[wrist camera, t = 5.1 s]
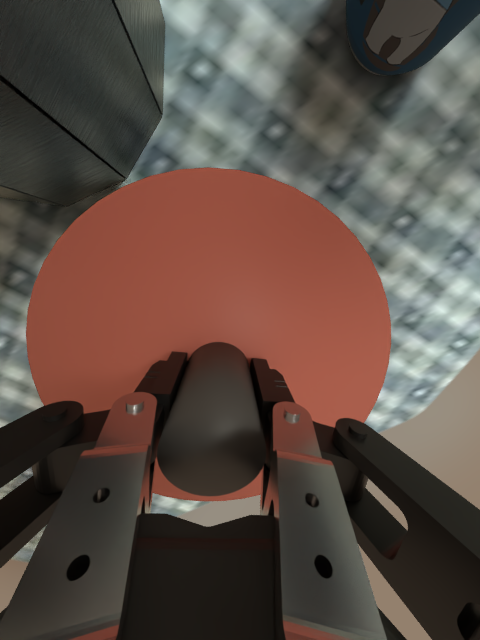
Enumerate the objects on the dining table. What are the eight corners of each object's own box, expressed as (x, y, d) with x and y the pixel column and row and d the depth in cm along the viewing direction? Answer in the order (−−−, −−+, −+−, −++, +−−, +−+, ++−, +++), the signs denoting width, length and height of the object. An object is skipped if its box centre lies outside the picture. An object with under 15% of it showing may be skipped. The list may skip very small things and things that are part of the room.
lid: (404, 211, 12) (654, 150, 5) (328, 472, 17) (400, 626, 10) (40, 156, 10) (-345, -49, 3) (74, 463, 15) (-54, 639, 8)
